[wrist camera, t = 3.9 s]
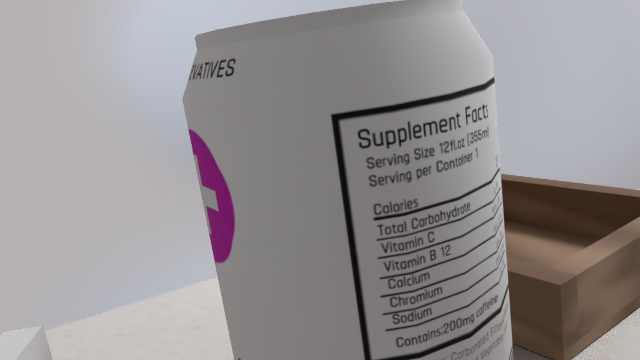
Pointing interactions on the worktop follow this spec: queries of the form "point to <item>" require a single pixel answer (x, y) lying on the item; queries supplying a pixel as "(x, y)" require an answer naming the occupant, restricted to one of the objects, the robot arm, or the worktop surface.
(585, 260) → the square wooden tray
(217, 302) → the worktop surface
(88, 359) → the worktop surface
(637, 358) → the worktop surface
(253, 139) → the supplement can
